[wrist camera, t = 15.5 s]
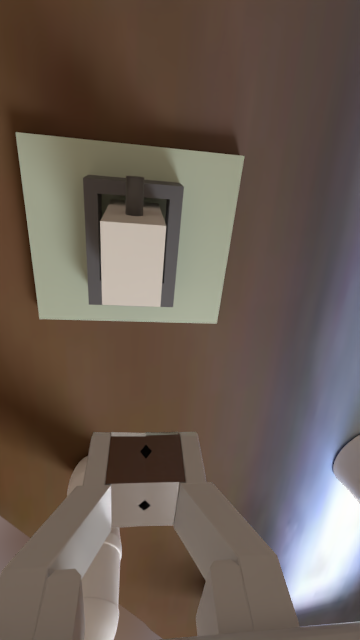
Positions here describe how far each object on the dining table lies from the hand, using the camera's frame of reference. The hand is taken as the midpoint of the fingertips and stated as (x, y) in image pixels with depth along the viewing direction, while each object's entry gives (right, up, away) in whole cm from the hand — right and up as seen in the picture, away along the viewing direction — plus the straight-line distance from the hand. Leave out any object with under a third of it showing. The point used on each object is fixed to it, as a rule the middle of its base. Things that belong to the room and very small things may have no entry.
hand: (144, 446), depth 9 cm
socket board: (-3, +11, +21) cm, 24 cm away
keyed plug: (-3, +11, +19) cm, 23 cm away
